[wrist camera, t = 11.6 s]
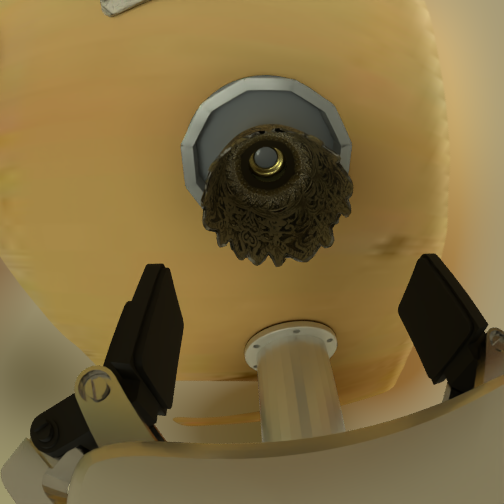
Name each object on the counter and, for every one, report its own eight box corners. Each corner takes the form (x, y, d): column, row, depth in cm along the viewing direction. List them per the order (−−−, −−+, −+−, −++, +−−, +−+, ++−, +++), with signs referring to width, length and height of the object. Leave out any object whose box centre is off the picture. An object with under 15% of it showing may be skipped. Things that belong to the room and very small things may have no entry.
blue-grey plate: (331, 218, 23) (340, 234, 21) (194, 222, 23) (190, 239, 21) (346, 81, 16) (360, 83, 14) (180, 80, 16) (172, 81, 14)
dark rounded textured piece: (236, 92, 16) (233, 104, 10) (331, 133, 18) (379, 172, 12) (201, 184, 20) (183, 246, 14) (289, 214, 22) (308, 282, 16)
